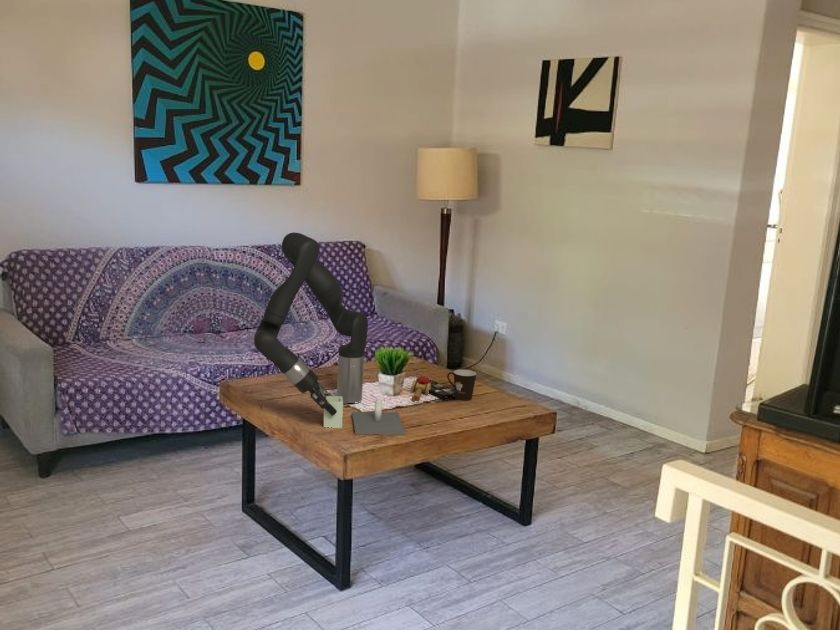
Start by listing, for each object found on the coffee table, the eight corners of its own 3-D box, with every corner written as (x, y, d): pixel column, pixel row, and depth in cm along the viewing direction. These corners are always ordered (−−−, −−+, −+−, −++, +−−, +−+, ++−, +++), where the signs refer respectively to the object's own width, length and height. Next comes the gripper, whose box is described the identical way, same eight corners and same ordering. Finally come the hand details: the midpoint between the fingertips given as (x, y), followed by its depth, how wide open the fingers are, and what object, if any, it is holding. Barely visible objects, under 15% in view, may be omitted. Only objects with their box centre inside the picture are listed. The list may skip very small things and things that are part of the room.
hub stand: (352, 415, 276) (353, 390, 274) (397, 416, 279) (399, 391, 277) (355, 434, 259) (356, 407, 257) (404, 434, 261) (405, 408, 259)
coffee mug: (478, 400, 302) (480, 375, 300) (458, 402, 298) (460, 376, 296) (463, 391, 312) (465, 366, 310) (444, 393, 308) (445, 368, 306)
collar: (323, 421, 269) (324, 396, 267) (341, 421, 270) (342, 396, 268) (323, 427, 263) (324, 401, 261) (342, 428, 264) (343, 402, 262)
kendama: (427, 407, 295) (435, 387, 312) (425, 391, 293) (433, 372, 310) (407, 408, 297) (415, 388, 313) (404, 392, 295) (413, 373, 311)
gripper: (309, 374, 254) (343, 408, 258) (308, 362, 268) (341, 395, 272) (291, 389, 255) (326, 424, 259) (292, 377, 268) (325, 410, 272)
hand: (334, 409), depth 265 cm, fingers open, 8 cm apart
